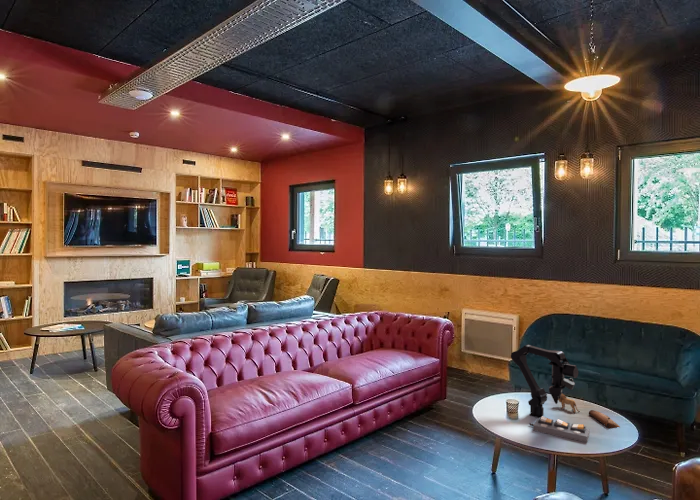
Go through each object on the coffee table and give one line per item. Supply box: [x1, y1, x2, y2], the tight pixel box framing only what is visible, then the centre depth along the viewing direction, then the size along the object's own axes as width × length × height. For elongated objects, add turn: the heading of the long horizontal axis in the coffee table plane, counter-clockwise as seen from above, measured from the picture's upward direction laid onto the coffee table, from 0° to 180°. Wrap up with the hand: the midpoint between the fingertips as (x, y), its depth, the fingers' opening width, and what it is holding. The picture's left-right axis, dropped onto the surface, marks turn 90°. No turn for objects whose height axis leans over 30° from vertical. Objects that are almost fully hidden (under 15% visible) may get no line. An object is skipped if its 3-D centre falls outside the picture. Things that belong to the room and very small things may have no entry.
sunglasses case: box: [588, 409, 621, 429], centre depth 256 cm, size 18×7×7 cm
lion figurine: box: [558, 393, 581, 414], centre depth 273 cm, size 15×5×9 cm, turn 39°
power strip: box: [529, 417, 590, 443], centre depth 242 cm, size 29×10×4 cm, turn 56°
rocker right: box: [572, 423, 585, 429], centre depth 238 cm, size 5×4×1 cm
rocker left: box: [539, 415, 553, 423], centre depth 247 cm, size 5×4×1 cm
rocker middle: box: [556, 418, 568, 426], centre depth 243 cm, size 5×4×1 cm
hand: (557, 401), depth 255 cm, fingers open, 9 cm apart
